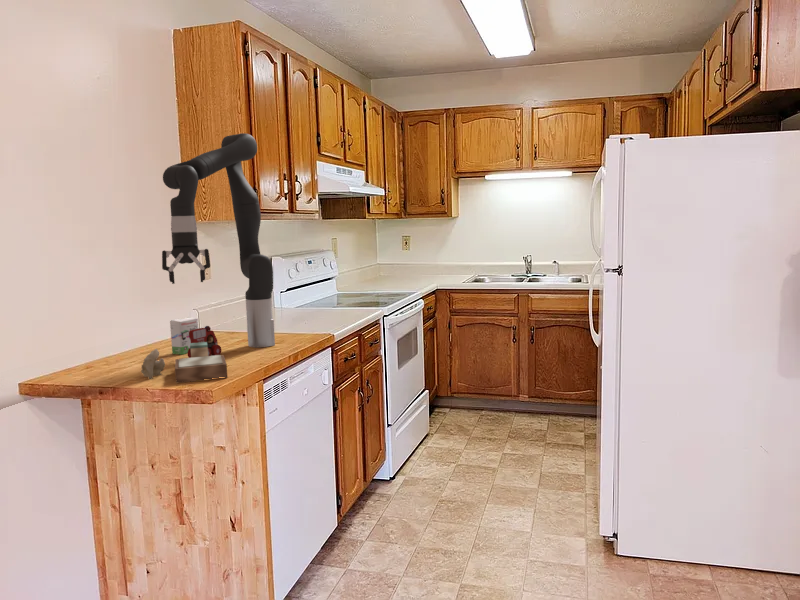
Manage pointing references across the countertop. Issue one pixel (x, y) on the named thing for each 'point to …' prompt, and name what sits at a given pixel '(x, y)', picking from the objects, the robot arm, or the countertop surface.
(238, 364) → the countertop surface
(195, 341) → the toy fire truck
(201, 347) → the maple block
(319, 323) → the countertop surface
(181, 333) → the ink box
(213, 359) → the base slab
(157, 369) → the bone
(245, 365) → the countertop surface
